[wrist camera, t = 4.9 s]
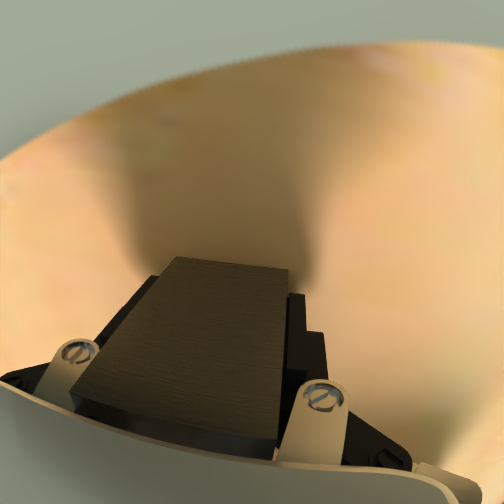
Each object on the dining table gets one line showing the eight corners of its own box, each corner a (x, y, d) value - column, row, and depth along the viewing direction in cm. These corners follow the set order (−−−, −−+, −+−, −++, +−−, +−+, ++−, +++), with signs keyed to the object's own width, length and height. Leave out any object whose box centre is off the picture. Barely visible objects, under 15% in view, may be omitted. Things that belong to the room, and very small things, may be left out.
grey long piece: (176, 256, 12) (68, 391, 5) (354, 277, 11) (407, 441, 5) (193, 480, 18) (169, 564, 11) (287, 493, 17) (279, 580, 11)
